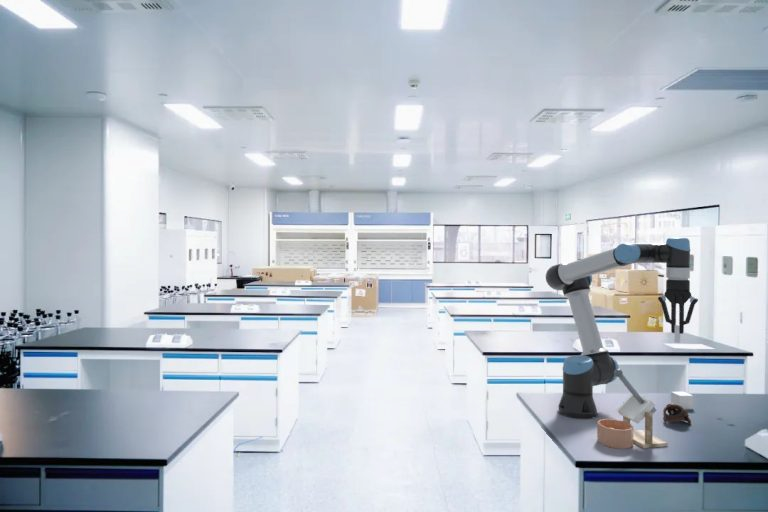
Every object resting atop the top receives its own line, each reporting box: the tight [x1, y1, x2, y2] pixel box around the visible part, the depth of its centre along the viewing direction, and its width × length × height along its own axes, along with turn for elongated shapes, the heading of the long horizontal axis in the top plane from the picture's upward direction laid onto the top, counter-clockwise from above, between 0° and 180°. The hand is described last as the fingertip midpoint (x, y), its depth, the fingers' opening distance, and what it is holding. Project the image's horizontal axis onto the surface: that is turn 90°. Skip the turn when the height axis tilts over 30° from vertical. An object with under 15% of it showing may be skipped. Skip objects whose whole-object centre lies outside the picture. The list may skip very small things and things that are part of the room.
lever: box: [614, 368, 657, 424], centre depth 171 cm, size 9×9×20 cm
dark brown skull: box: [662, 403, 692, 425], centre depth 191 cm, size 12×10×8 cm
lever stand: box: [622, 401, 668, 449], centre depth 172 cm, size 10×12×12 cm
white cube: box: [670, 391, 694, 410], centre depth 210 cm, size 6×6×6 cm
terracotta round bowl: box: [596, 418, 634, 450], centre depth 170 cm, size 11×11×6 cm
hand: (677, 342), depth 178 cm, fingers closed
